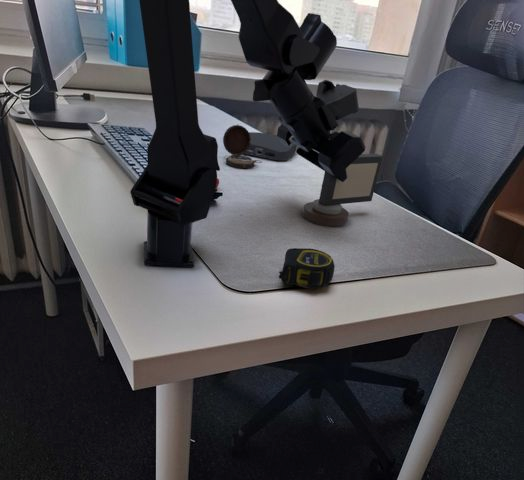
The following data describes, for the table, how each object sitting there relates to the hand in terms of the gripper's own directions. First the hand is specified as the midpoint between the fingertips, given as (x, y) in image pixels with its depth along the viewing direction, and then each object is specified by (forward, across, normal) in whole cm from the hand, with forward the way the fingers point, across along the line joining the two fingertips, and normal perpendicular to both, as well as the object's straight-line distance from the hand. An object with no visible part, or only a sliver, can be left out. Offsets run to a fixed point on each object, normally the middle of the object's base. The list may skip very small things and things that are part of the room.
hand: (340, 177), depth 87 cm
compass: (+2, +31, +8) cm, 33 cm away
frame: (+5, 0, +2) cm, 6 cm away
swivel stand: (+4, 0, +6) cm, 7 cm away
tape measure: (-8, -22, +18) cm, 29 cm away
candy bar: (-10, +10, +20) cm, 25 cm away
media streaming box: (+10, +42, +1) cm, 43 cm away
